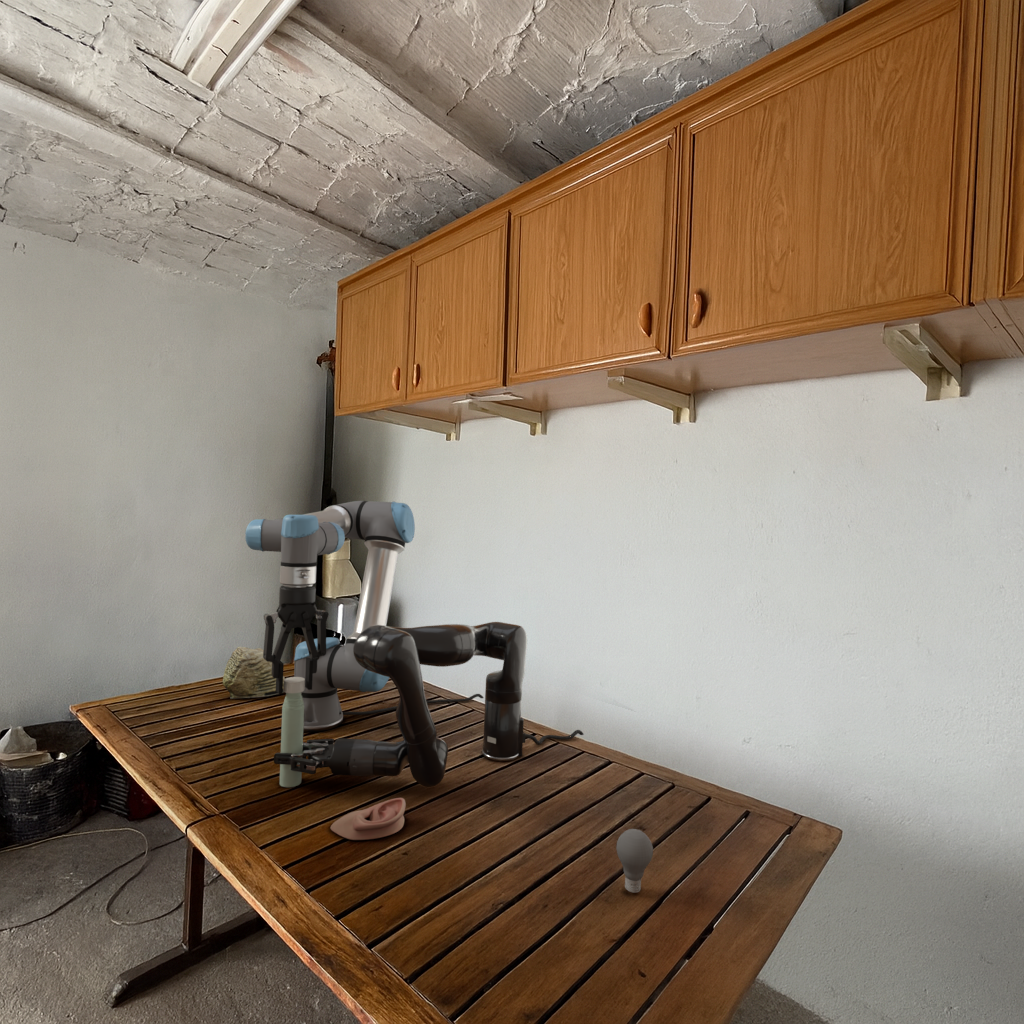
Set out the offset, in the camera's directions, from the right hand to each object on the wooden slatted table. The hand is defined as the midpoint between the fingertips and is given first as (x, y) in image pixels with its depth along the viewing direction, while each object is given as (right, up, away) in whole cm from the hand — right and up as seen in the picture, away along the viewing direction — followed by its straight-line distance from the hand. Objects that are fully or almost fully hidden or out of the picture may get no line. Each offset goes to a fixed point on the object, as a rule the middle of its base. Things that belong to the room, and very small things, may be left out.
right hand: (279, 753), depth 140 cm
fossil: (-29, -4, +58) cm, 66 cm away
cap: (+3, +16, 0) cm, 16 cm away
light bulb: (+71, -10, -34) cm, 80 cm away
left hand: (+3, +14, 0) cm, 14 cm away
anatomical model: (+23, -8, -17) cm, 30 cm away
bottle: (+2, -7, 0) cm, 7 cm away
